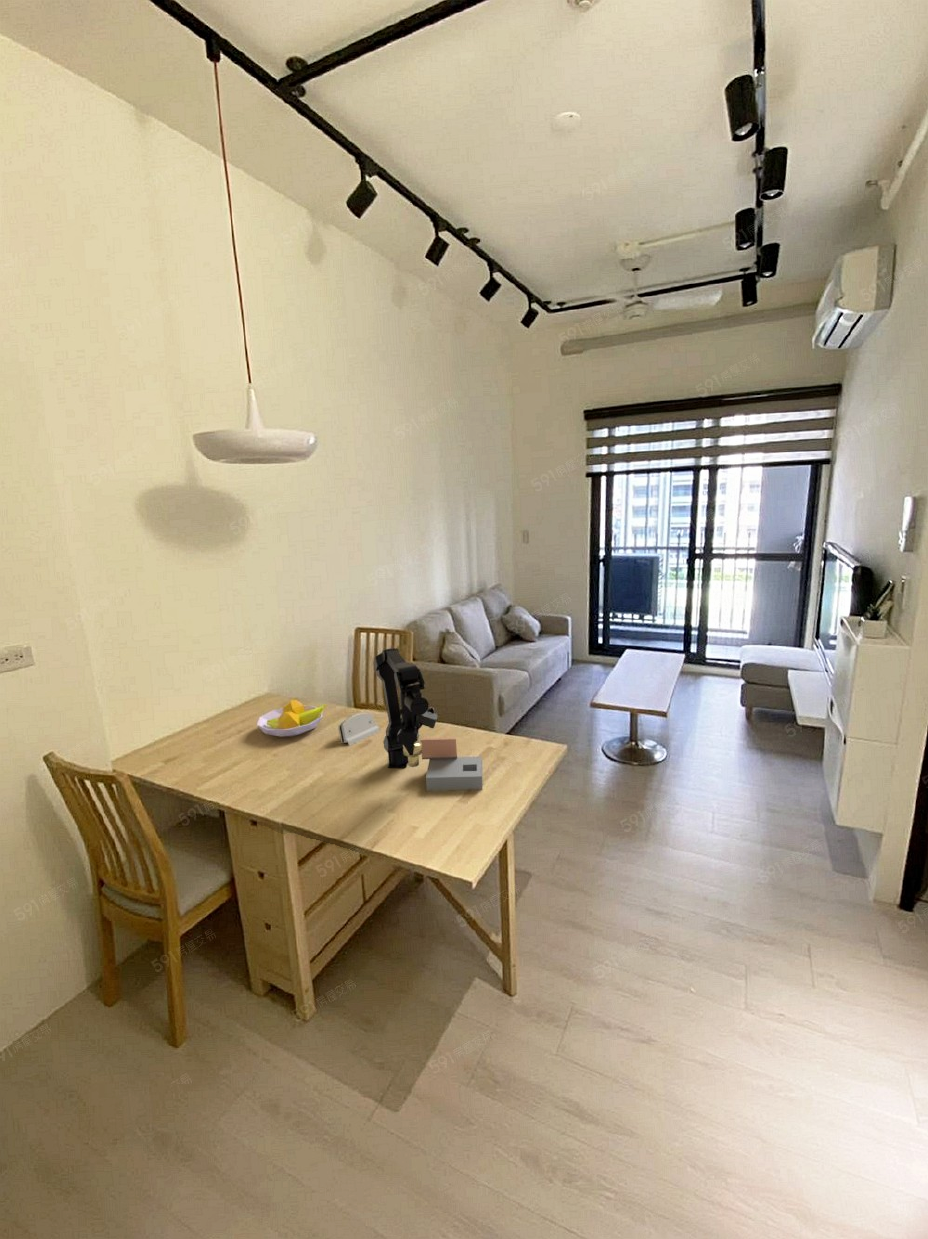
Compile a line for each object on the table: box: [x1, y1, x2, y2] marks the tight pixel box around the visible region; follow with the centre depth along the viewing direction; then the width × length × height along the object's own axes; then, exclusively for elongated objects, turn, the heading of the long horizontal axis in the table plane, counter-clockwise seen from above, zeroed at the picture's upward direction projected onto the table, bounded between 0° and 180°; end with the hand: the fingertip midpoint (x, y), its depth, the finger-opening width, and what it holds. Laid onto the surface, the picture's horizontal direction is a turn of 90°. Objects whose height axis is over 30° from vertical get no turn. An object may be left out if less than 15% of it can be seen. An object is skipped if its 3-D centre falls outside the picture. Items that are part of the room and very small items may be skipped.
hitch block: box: [425, 755, 483, 791], centre depth 184 cm, size 18×14×4 cm
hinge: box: [338, 712, 381, 746], centre depth 221 cm, size 17×5×10 cm, turn 140°
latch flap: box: [419, 737, 458, 760], centre depth 187 cm, size 12×1×9 cm, turn 88°
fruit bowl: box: [256, 699, 327, 737], centre depth 230 cm, size 28×27×11 cm
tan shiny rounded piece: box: [403, 739, 422, 768], centre depth 177 cm, size 6×6×7 cm
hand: (412, 750), depth 177 cm, fingers closed on tan shiny rounded piece, 6 cm apart
